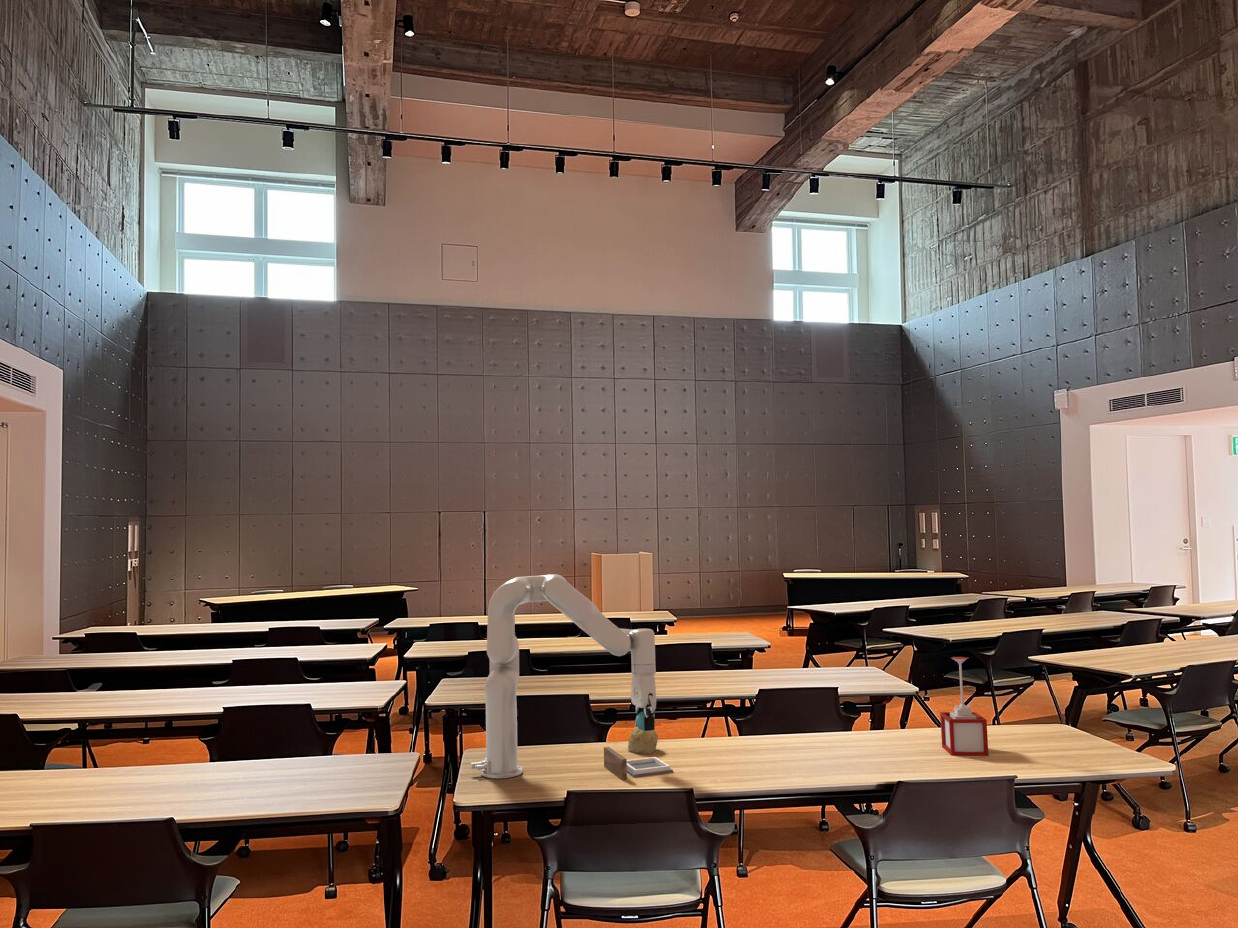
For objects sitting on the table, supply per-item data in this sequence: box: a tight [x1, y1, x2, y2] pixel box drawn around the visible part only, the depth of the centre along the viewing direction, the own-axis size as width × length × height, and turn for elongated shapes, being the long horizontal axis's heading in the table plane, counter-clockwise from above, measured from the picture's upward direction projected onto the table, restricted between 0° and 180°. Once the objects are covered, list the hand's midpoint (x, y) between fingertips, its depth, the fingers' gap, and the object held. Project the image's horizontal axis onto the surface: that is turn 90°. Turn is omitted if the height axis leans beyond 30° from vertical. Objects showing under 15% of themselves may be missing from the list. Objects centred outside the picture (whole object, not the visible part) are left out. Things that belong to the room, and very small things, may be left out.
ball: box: [635, 710, 656, 731], centre depth 263 cm, size 6×6×6 cm
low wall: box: [603, 746, 628, 781], centre depth 258 cm, size 2×16×6 cm, turn 20°
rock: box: [627, 726, 659, 755], centre depth 285 cm, size 10×11×10 cm
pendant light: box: [939, 656, 990, 757], centre depth 277 cm, size 11×11×30 cm
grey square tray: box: [627, 756, 674, 778], centre depth 262 cm, size 13×13×2 cm
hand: (645, 727), depth 263 cm, fingers closed on ball, 5 cm apart
